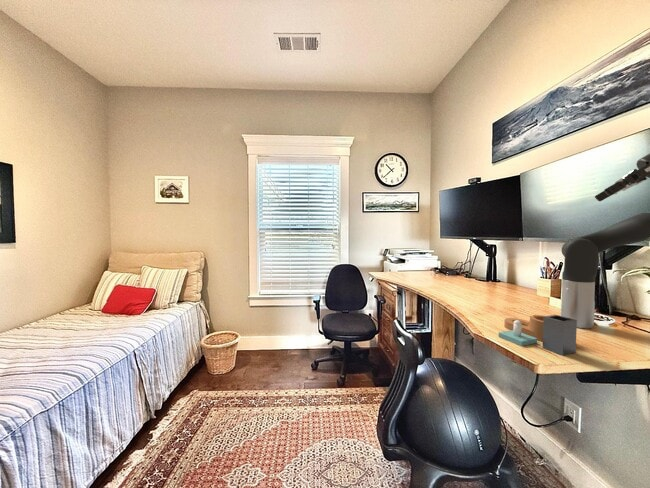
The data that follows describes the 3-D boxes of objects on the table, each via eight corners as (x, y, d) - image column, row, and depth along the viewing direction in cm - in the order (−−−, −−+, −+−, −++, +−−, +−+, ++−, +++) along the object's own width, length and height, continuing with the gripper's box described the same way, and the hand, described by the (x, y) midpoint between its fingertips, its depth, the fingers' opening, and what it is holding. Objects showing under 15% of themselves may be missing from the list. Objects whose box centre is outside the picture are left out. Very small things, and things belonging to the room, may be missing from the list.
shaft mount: (513, 334, 96) (513, 315, 96) (537, 342, 89) (537, 323, 89) (498, 336, 94) (498, 318, 94) (521, 346, 87) (521, 325, 86)
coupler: (554, 345, 87) (555, 314, 86) (575, 352, 82) (576, 320, 81) (542, 348, 85) (543, 316, 85) (562, 355, 80) (564, 322, 79)
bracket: (567, 342, 90) (567, 321, 89) (548, 345, 88) (548, 324, 87) (515, 324, 107) (516, 306, 107) (499, 326, 105) (499, 308, 105)
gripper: (696, 160, 68) (620, 201, 74) (666, 176, 80) (603, 210, 86) (670, 139, 70) (598, 180, 77) (644, 157, 82) (585, 192, 89)
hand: (601, 196), depth 82 cm, fingers open, 8 cm apart
